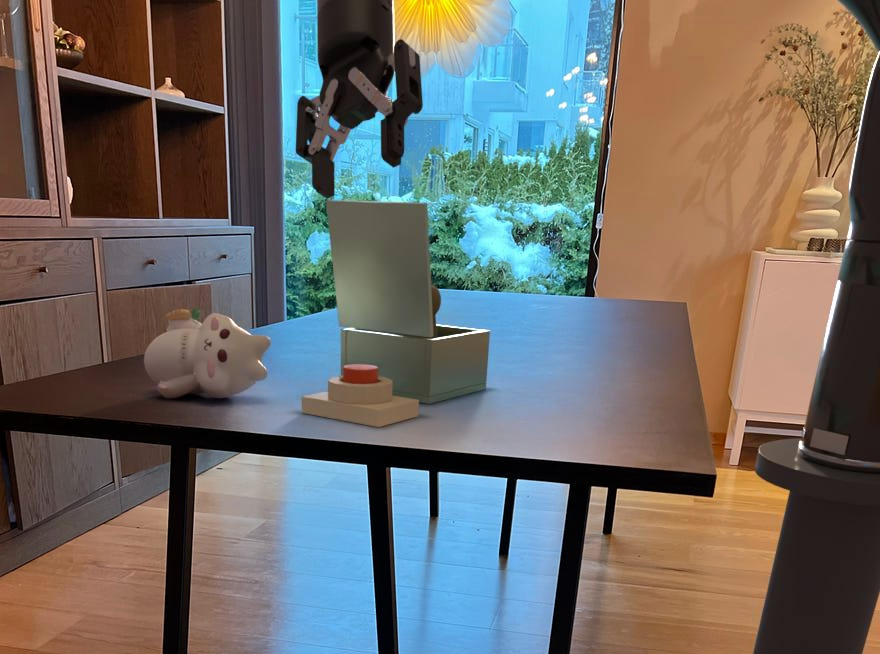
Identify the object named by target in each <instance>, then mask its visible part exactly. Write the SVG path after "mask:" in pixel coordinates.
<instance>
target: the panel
mask: <svg viewBox="0 0 880 654" xmlns="http://www.w3.org/2000/svg"><path fill="white" fill-rule="evenodd" d="M392 389H393V381H392V380H390V379H388V378H385V377H379V376H378V383H374V384H352V383H345V382H343V375H342V376H341V375H337V376H331V377H330V378H329V379H328V380H327V390H325V391H320V392H316V393H311V394H305V395H302V396H301V413H302V414H306V415H311V416H317V417H323V418H327V419H333V420H338V421H344V422H348V423H349V422H350V423H353V424H354V423H355V424H358V425H359V424H360V425H365V426H369V427H370V426H371V427H375V428H381V427H385V426H389V425H392V424H396V423H399V422H403V421H407V420H411V419H414V418H417V417H419V412H420V411H419V409H420V408H419V407H420V402H419V400H416V399H410V398H404V397H398V396H392Z"/></svg>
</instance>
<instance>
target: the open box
mask: <svg viewBox="0 0 880 654" xmlns="http://www.w3.org/2000/svg"><path fill="white" fill-rule="evenodd" d="M436 329H437V338H434V339H426V338H418V337H410V336H401V335H397V334H398V333H390V332H382V331H373V330H365V329H357V328H348V327H345V328H341V329H340V376H342V375H343V366H345V365H351V364H366V365H374V366H377V367H378V376H379V377H385V378H388V379H390V380H392V381H393V389H392V396H398V397H404V398H410V399H416V400H419V404H420V403H421V404H425V405H426V404H427V405H430V404H431V405H432V404H435V403H439V402H443V401H446V400H449V399H454V398H457V397H458V398H459V397H461V396H465V395H469V394H472V393H476V392H480V391H483V390H486V389H487V379H488V367H489V353H490V337H491V331H490V330H489V329H481V328H480V329H479V328H473V327H472V328H470V327H461V326H455V325H454V326H452V325H445V324H444V325H443V324H436Z"/></svg>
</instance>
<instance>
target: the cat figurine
mask: <svg viewBox="0 0 880 654" xmlns="http://www.w3.org/2000/svg"><path fill="white" fill-rule="evenodd" d="M201 313H202V311H201V310H200V308H196V307H194V308H193V309H190V310H188V309H185V308H177V309H174V310H172V311H170V312H168V313H166V314H165V316H164V317H165V319H166V320H167V322H168V326H167V327H166V332H163V333H161V334H159V335H158V336H157V337H155V338H154V339H153V340H152V341H151V342H150V344H148V346H147V348H146V350H145V353H144V356H143V365H144V368H145V371H146V373H147V375H148V377H149V378H150V379H151V380H152V381H153V382H154V383H155V384H157V387H156V388H157V391H158V392H159V393H160V395H162V396H163V398H165V399H176V398H180V397H182V396H183V397H184V396H185V395H204V394H206V395H208V396H209V397H211V398H213V399H226V398H231V397H233V396H236V395H238V394H241V393H244V392H245V391H247V390H249V389H250V388H251V387H253V386H254V385H255V384H256V382H259V381H265V380H266V379H267V378H268V370H267V368H266V367H265V366H264V365H263V357H264V355H265V353H266V352H267V351H268V350H269V348H270V347H271V344H272V341H271V339H270V337H269V336H267V335H263V334H257V335H256V334H251V333H250V332H248V331H247V330H245V329H243V328H242V327H240V326H238V325H237V324H236V323H235V322H234V321H233V320H232V319H231V318H230V317H229V316H227V315H224V314H221V313H217V312H213V313H210V314H209V315H208V316H206V317H205V319H204V320H203V322H202V323H201V322H200V321H198V320H199V319H200V316H201Z"/></svg>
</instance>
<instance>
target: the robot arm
mask: <svg viewBox="0 0 880 654" xmlns="http://www.w3.org/2000/svg"><path fill="white" fill-rule="evenodd" d="M394 1H395V0H316V23H317V24H316V31H317V32H316V35H317V39H316V40H317V41H316V42H317V43H316V44H317V45H316V46H317V48H316V49H317V56H316V57H317V58H316V59H317V64H318V67H319V70H320V73H321V74H320V75H321V77H322V85H321V88H320V91H319V95H317V96H315V97H313V98H311V99H309V98H308V97H307V96H305V95H301V96H300V97H299V98H298V100H297V105H296V128H295V129H296V130H295V131H296V133H295V154H296V155H297V156H298V157H301V158H302V159H303V160H304V161H306V162H308V163H309V164H311V186H312V188H313V189H314V191H315V192H316V193H317V194H318V195H320V196H322V197H323V198H325V199H327V200H329V199H331V198H332V197H335V192H336V191H335V161H334V159H335V156H336V154H337V152H338V150H339V148H340V146H341V145H344V144H345V143H346V142H347V139H348V137H349V135H350V133H351V130H354V129H356V128H357V127H358V126H360V125H361V124H362V123H363V122H367V121H371V120H372V119H375V118H376V115H377V112H380V113H381V114H382V116H383V117H384V118H383V119H381V120H380V156H381V159H382V161H384V162H385V163H386V164H388V166H390V167H392V168H396V167H398V166H401V165H402V158H403V157H404V153H405V127H406V125H407V123H408V120H409V119H408V118H409V117H410V116H411V115H413V114H414V115H418V114H419V113H420V112H421V111H422V110H423V106H424V105H423V104H424V102H423V89H422V87H423V86H422V73H421V57H420V54H419V53H418V52H416V50H415V49H414V48H413V47H412V46H410V44H408V43H407V42H406V41H405V40H404V39H402V38H399V39H397V40H396V42H395V2H394ZM837 2H839V3H840V4H841V5H842V6H843V7H844V8H845V9H846V10H847V11H848V12H849V13H851V15H852V16H853V17H854V18H855V20H856V21H857V22H858V23H859V24H860V26H861V27H862V29H863V30H864V31H865V33H866V35H867V36H868V37H869V40H870V41H871V43H872V44H873V46H874V47H875V49H876V51H877V53H878V54H877V57H876V59H875V62H874V65H873V68H872V71H871V74H870V78H869V81H868V86H867V89H866V94H865V99H864V103H863V108H862V114H861V119H860V125H859V128H858V135H857V140H856V144H855V151H854V157H853V161H852V167H851V172H850V178H849V185H848V204H849V213H850V219H849V226H848V230H847V236H846V239H847V240H846V241H845V245H844V249H843V254H842V258H841V263H840V267H839V272H838V276H837V281H836V284H835V289H834V292H833V293H834V294H833V298H832V303H831V307H830V310H829V316H828V321H827V324H826V329H825V333H824V338H823V341H822V346H821V350H820V354H819V360H818V363H817V368H816V372H815V377H814V382H813V385H812V386H813V387H812V390H811V395H810V398H809V403H808V408H807V413H806V418H805V422H804V425H803V426H804V427H803V428H802V432H801V438H802V439H801V441H800V442H799V447H798V451H797V454H798V455H799V456H800V457H802V458H803V459H805V460H807V461H810V462H813V463H816V464H819V465H822V466H826V467H831V468H835V469H840V470H847V471H853V472H862V473H874V474H880V0H837ZM394 76H395V88H396V89H395V93H396V98H395V100H393V99H392V98H391V97H390V96H389V94H388V91H389V88H390V86H391V84H392V82H393V79H394ZM331 118H332V119H333V120H334V121H335V122H336V123H338V124H339V126H338V128H337V129H336V128H334V127H333V126H331V124H330V120H331ZM327 137H328V139H329V140H328V142H327V145H326V147H324V146H323V144H324V143H325V140H326V138H327ZM308 142H309V143H308Z"/></svg>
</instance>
